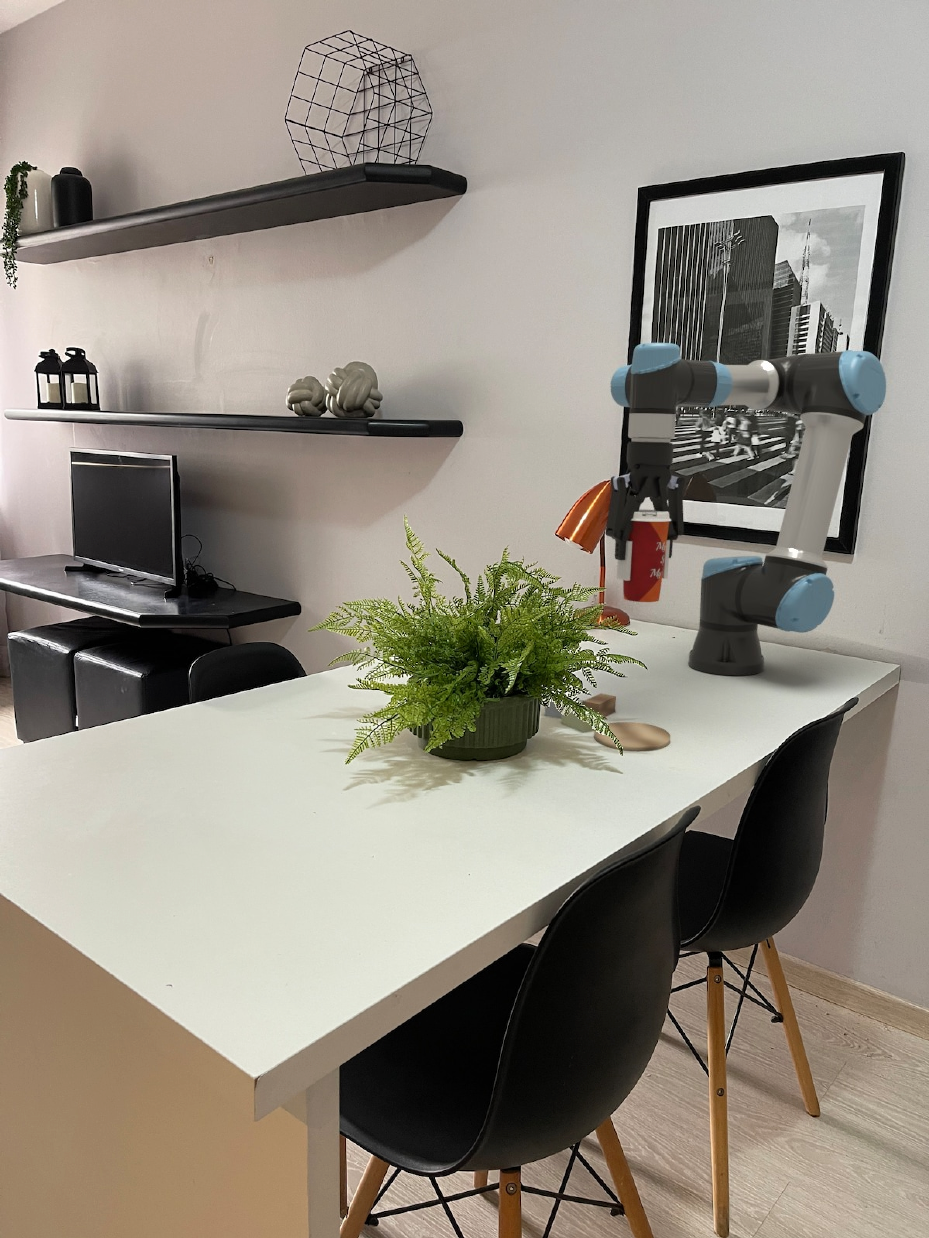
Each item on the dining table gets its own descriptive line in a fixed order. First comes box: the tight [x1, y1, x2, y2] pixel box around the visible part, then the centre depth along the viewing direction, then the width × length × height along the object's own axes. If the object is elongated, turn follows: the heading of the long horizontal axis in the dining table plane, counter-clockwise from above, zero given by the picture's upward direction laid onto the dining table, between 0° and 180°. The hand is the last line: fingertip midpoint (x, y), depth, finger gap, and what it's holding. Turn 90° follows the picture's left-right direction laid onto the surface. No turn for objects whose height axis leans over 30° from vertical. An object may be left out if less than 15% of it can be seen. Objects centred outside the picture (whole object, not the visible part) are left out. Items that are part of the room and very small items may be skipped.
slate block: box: [544, 698, 585, 719], centre depth 163 cm, size 6×3×3 cm, turn 66°
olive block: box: [560, 712, 595, 733], centre depth 157 cm, size 6×3×3 cm, turn 31°
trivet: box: [593, 721, 671, 752], centre depth 151 cm, size 12×12×1 cm
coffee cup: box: [622, 508, 671, 603], centre depth 159 cm, size 8×8×15 cm
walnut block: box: [584, 692, 617, 718], centre depth 164 cm, size 6×3×3 cm, turn 143°
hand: (642, 578), depth 160 cm, fingers closed on coffee cup, 7 cm apart
